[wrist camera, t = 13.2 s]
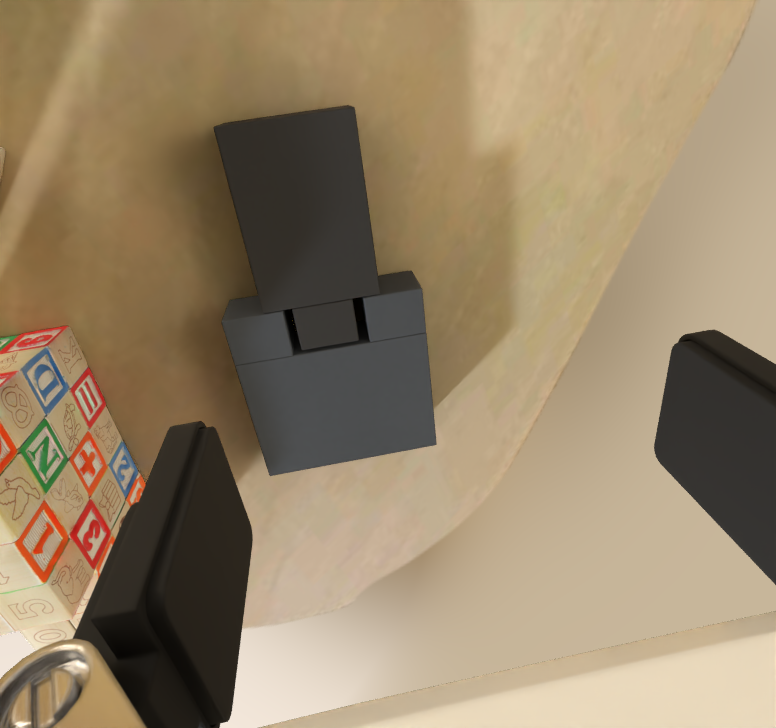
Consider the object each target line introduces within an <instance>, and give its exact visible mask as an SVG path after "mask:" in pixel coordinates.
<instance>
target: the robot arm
mask: <svg viewBox="0 0 776 728" xmlns="http://www.w3.org/2000/svg"><path fill="white" fill-rule="evenodd" d="M654 449H655V454H656V457H657V459H658V461H659V462H660V464H661V465H662V466H663V467H664V468H665V469H666V470H667V471H668V472H669V473H670V474H671V475H672V476H673V477H674V478H675V479H676V480H677V481H678V483H679V484H680V485H681V486H682V487H683V488H684V489H685V490H686V491H687V492H688V493H689V494H690V495H691V496H692V497H693V498H694V499H695V500H696V501H697V502H698V504H699V505H700V506H701V507H702V508H703V509H704V510H705V511H706V512H707V513H708V514H709V515H710V516H711V517H712V518H713V519H714V520H715V521H716V523H717V524H718V525H720V527H721V528H722V529H723V530H724V531H725V532H726V533H727V534H728V535H729V536H730V537H731V538H732V539H733V540H734V541H735V542H736V544H738V546H739V547H740V548H741V549H742V550H743V551H744V552H745V553H746V554H747V555H748V556H749V557H750V558H751V559H752V560H753V561H754V563H756V565H757V566H758V567H759V568H760V569H761V570H762V571H763V572H764V573H765V574H766V575H767V576H768V577H769V578H770V579H771V580H772V581H773V582H774V583H775V585H776V364H774V363H772V362H771V361H769V360H767V359H766V358H764V357H762V356H761V355H759V354H757V353H755V352H754V351H752V350H750V349H748V348H747V347H745V346H743V345H742V344H740V343H738V342H736V341H735V340H733V339H731V338H730V337H728V336H726V335H724V334H723V333H721V332H719V331H716V330H707V331H702V332H696V333H691V334H685V335H683V336H682V337H681V338H680V339H679V342H678V343H676V344H675V345H674V346H673V348H672V351H671V356H670V362H669V367H668V373H667V379H666V384H665V389H664V395H663V400H662V406H661V412H660V417H659V422H658V428H657V433H656V439H655V444H654ZM252 540H253V539H252V529H251V524H250V521H249V519H248V516H247V513H246V510H245V508H244V505H243V502H242V499H241V496H240V494H239V491H238V488H237V485H236V483H235V480H234V477H233V474H232V472H231V469H230V466H229V463H228V461H227V458H226V455H225V452H224V449H223V447H222V444H221V441H220V438H219V436H218V433H217V431H216V429H215V428H214V427H208V428H206V426H205V424H204V423H203V422H201V421H199V422H193V423H188V424H182V425H177V426H172V427H170V428H169V430H168V432H167V434H166V437H165V439H164V442H163V444H162V447H161V449H160V451H159V454H158V456H157V459H156V461H155V463H154V466H153V468H152V471H151V473H150V476H149V478H148V480H147V483H146V485H145V488H144V490H143V493H142V495H141V497H140V500H139V502H136V503H134V504H133V505H131V506H130V508H129V510H128V511H127V513H126V516H125V518H124V520H123V523H122V525H121V527H120V529H119V532H118V534H117V536H116V539H115V541H114V543H113V546H112V548H111V550H110V553H109V555H108V557H107V560H106V562H105V564H104V567H103V569H102V571H101V574H100V576H99V578H98V581H97V583H96V585H95V588H94V590H93V592H92V595H91V597H90V599H89V601H88V604H87V606H86V608H85V611H84V613H83V615H82V618H81V620H80V622H79V625H78V627H77V629H76V632H75V634H74V636H73V639H68V640H60V641H57V642H55V643H52V644H49V645H47V646H44V647H42V648H40V649H38V650H37V651H35V652H33V653H32V654H30V655H29V656H27V657H25V658H23V659H22V660H21V661H20V662H19V663H17V664H16V665H15V666H14V667H13V668H11V669H10V670H9V671H8V672H7V673H6V674H4V675H3V677H2V678H1V679H0V728H219V727H220V723H223V722H228V720H229V719H230V716H231V711H232V705H233V697H234V689H235V680H236V672H237V664H238V656H239V647H240V640H241V632H242V624H243V615H244V607H245V599H246V591H247V583H248V575H249V567H250V558H251V550H252ZM259 728H776V611H774V612H769V613H764V614H760V615H755V616H750V617H745V618H741V619H736V620H731V621H727V622H722V623H718V624H713V625H708V626H704V627H699V628H695V629H690V630H685V631H681V632H676V633H672V634H667V635H663V636H658V637H653V638H649V639H644V640H640V641H635V642H631V643H626V644H621V645H617V646H612V647H608V648H603V649H599V650H594V651H590V652H585V653H581V654H576V655H572V656H567V657H562V658H558V659H554V660H549V661H544V662H540V663H535V664H531V665H526V666H522V667H518V668H513V669H508V670H504V671H499V672H495V673H491V674H486V675H482V676H477V677H473V678H469V679H464V680H460V681H456V682H451V683H446V684H442V685H438V686H433V687H428V688H425V689H420V690H415V691H411V692H406V693H402V694H397V695H393V696H388V697H384V698H380V699H375V700H371V701H367V702H362V703H358V704H354V705H350V706H346V707H341V708H337V709H333V710H329V711H325V712H321V713H317V714H313V715H309V716H304V717H300V718H296V719H292V720H288V721H284V722H280V723H276V724H272V725H268V726H264V727H259Z"/></svg>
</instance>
